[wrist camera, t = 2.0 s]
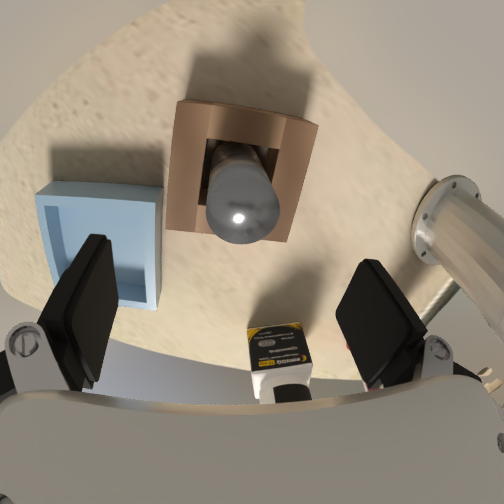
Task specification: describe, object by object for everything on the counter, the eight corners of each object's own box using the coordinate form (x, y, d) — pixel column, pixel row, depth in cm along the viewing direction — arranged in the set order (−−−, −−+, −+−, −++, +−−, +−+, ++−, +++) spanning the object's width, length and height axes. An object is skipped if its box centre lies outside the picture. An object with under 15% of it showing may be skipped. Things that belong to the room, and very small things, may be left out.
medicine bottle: (300, 320, 35) (324, 400, 25) (297, 351, 39) (315, 422, 29) (246, 327, 35) (256, 412, 25) (250, 357, 39) (259, 432, 29)
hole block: (303, 118, 21) (318, 125, 18) (277, 220, 27) (286, 242, 23) (184, 99, 19) (177, 101, 16) (172, 208, 25) (165, 229, 21)
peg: (262, 144, 22) (287, 183, 14) (253, 186, 24) (271, 247, 16) (215, 137, 22) (210, 172, 13) (208, 181, 24) (202, 240, 16)
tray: (163, 187, 24) (155, 202, 21) (161, 288, 30) (156, 310, 27) (52, 180, 21) (34, 194, 18) (68, 276, 28) (57, 295, 25)
